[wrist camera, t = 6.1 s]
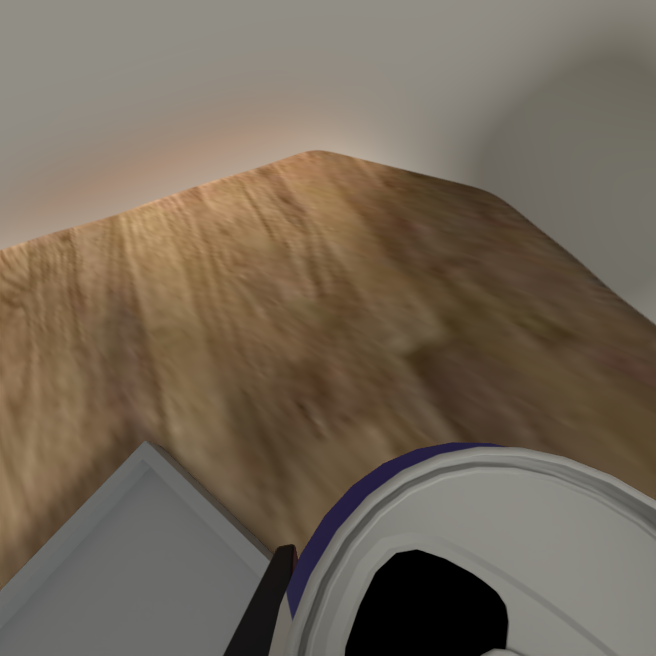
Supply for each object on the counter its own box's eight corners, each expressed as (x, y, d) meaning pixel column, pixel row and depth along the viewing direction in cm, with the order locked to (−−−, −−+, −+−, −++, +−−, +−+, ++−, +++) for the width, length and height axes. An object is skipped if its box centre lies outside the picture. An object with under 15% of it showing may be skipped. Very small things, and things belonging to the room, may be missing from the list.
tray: (104, 995, 12) (65, 1074, 10) (-57, 678, 17) (-103, 697, 15) (327, 606, 18) (325, 616, 16) (160, 446, 22) (145, 440, 20)
